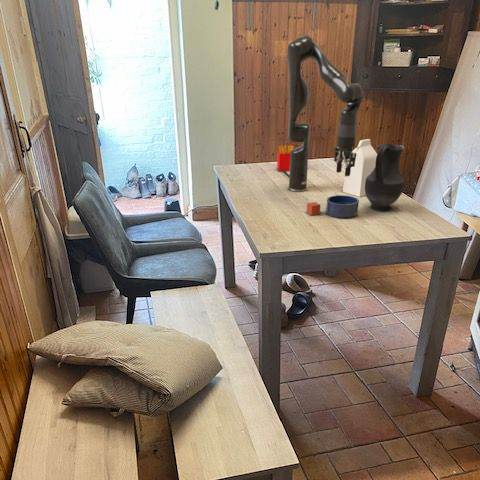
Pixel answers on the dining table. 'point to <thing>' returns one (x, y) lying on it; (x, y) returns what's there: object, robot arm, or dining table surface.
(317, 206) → the block
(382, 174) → the pitcher
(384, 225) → the dining table surface
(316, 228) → the dining table surface
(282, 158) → the french fries container
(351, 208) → the bowl
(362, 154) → the milk
